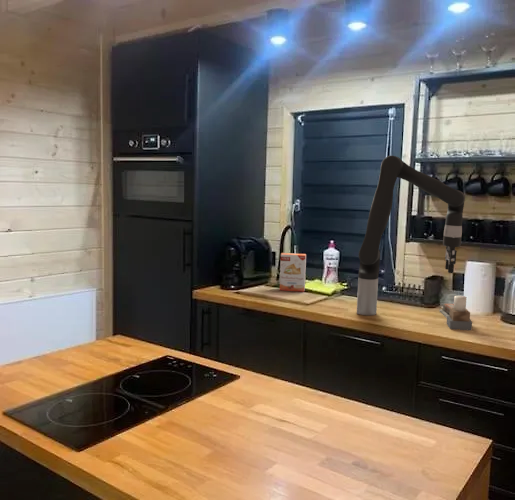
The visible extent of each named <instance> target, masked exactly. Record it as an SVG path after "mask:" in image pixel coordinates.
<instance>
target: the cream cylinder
mask: <svg viewBox="0 0 515 500" xmlns="http://www.w3.org/2000/svg"><path fill="white" fill-rule="evenodd" d="M453 297H454V299H453V304H454V309H453V310H454V311H459V312H464V311H466V309H467V297H466V296H463V295H454V296H453Z"/></svg>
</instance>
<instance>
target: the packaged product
mask: <svg viewBox="0 0 515 500" xmlns="http://www.w3.org/2000/svg"><path fill="white" fill-rule="evenodd" d="M450 308H454V303H443V305H442V308H439V310H438V311H439V313H440V314H441V315H442V316H443V317H445V318H446V319H447V316H449V314H450ZM470 320H471V321H472V319H471V318H470Z"/></svg>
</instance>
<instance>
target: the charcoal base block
mask: <svg viewBox="0 0 515 500" xmlns="http://www.w3.org/2000/svg"><path fill="white" fill-rule="evenodd" d="M446 325H447V326H448V329H450V330H457V329H460V331H461V330H462V331H472V330H473V329H472V328H473V322H472V319H471V320H470V322H469V321H453V320H452V319H451V318H450V317H449V316H447V318H446Z"/></svg>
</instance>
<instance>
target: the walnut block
mask: <svg viewBox="0 0 515 500" xmlns="http://www.w3.org/2000/svg"><path fill="white" fill-rule="evenodd" d="M453 309H454V308H450V314H449V317H450V318H451V319H452V320H453V321H469V322H470V319H471V312H470V311H469V310H468V309H467V308H466V311H464V312H459V311H454V310H453Z"/></svg>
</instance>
